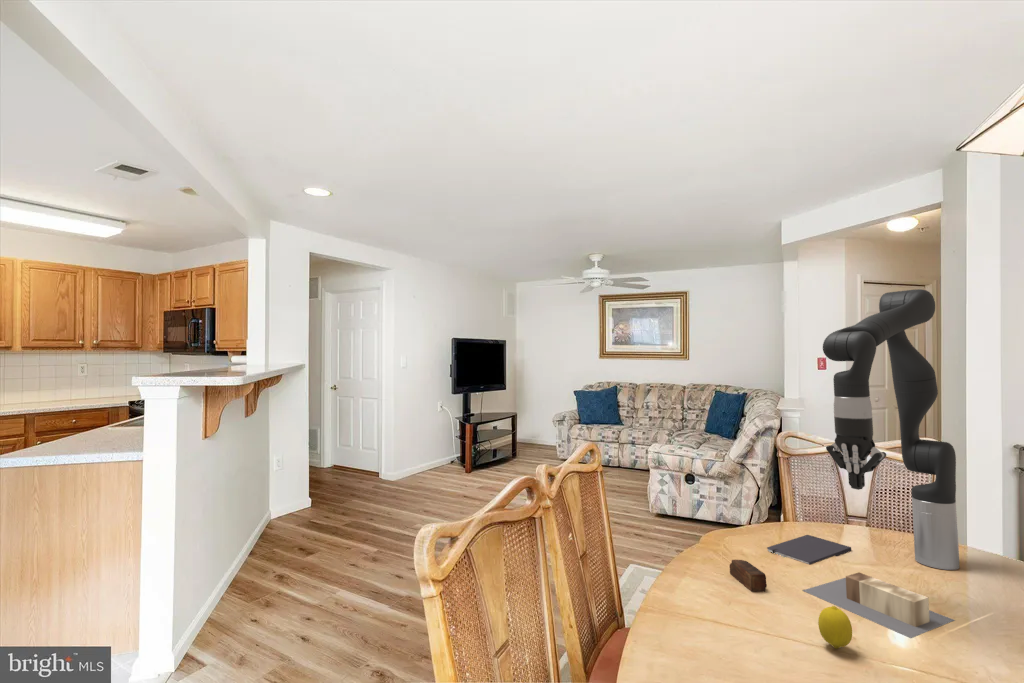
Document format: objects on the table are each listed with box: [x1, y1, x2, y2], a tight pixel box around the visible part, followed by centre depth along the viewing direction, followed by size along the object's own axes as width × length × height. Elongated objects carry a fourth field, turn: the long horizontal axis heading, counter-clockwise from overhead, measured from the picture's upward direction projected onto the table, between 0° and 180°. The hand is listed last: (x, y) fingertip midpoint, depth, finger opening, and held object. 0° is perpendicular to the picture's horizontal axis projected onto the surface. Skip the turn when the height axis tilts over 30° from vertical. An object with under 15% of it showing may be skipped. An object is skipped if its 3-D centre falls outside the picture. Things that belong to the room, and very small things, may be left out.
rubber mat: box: [802, 577, 956, 639], centre depth 112 cm, size 16×23×1 cm
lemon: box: [817, 605, 853, 650], centre depth 96 cm, size 6×6×8 cm
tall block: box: [845, 572, 930, 627], centre depth 110 cm, size 5×5×14 cm
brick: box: [729, 559, 768, 593], centre depth 124 cm, size 11×4×5 cm, turn 4°
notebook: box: [766, 534, 852, 565], centre depth 145 cm, size 13×2×21 cm
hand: (856, 488), depth 117 cm, fingers closed
